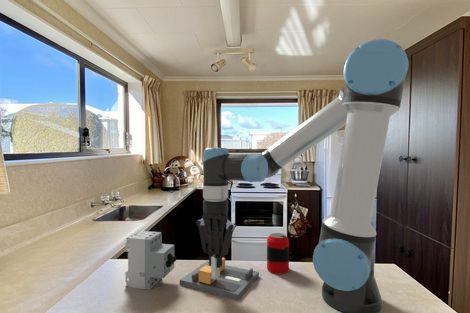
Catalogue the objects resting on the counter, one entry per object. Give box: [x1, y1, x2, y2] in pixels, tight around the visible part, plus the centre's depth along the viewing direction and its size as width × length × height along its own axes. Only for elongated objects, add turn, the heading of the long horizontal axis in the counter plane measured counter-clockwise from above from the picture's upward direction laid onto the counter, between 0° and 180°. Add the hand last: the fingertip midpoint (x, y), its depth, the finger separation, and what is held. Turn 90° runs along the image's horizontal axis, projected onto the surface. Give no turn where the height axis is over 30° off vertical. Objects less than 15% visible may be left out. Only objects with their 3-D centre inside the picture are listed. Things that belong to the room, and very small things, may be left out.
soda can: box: [266, 232, 290, 275], centre depth 95 cm, size 8×8×12 cm
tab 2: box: [220, 256, 226, 272], centre depth 91 cm, size 4×4×4 cm
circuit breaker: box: [124, 230, 177, 290], centre depth 85 cm, size 8×14×15 cm, turn 78°
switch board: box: [179, 260, 260, 301], centre depth 87 cm, size 20×16×4 cm
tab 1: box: [199, 265, 216, 284], centre depth 83 cm, size 4×4×4 cm
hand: (215, 277), depth 82 cm, fingers closed
